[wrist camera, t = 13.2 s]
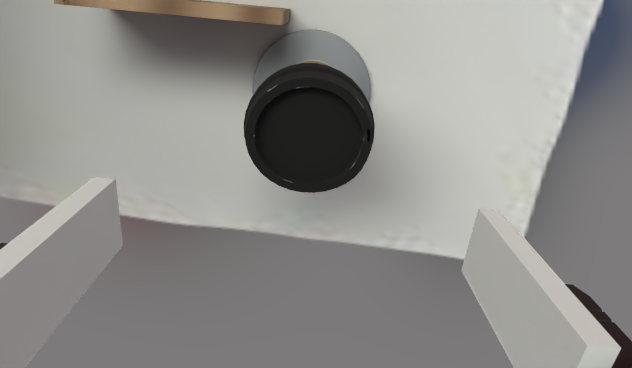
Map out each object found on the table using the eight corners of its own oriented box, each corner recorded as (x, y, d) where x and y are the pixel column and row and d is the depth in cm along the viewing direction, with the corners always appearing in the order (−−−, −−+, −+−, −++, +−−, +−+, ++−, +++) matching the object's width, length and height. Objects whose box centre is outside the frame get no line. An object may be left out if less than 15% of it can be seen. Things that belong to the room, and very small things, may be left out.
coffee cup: (359, 131, 40) (380, 198, 26) (272, 138, 41) (249, 207, 27) (355, 40, 37) (376, 62, 23) (261, 49, 37) (227, 75, 23)
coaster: (252, 141, 41) (251, 143, 41) (255, 23, 37) (254, 24, 36) (361, 151, 42) (362, 152, 41) (377, 35, 37) (378, 36, 37)
